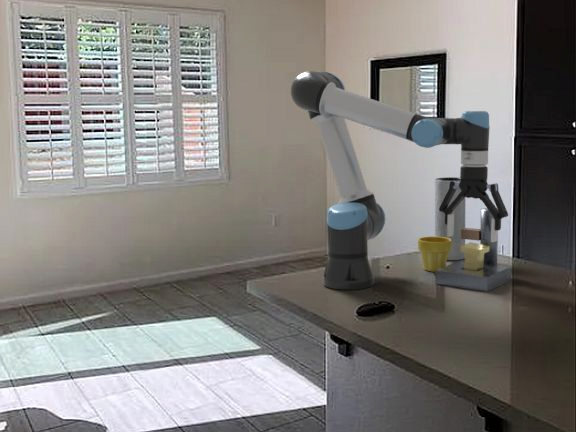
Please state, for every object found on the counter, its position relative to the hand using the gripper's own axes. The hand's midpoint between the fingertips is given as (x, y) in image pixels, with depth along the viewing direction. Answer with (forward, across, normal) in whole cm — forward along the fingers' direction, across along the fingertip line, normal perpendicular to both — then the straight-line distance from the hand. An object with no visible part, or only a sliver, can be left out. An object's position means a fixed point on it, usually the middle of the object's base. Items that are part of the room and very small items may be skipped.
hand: (471, 238), depth 196 cm
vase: (+13, -20, +26) cm, 36 cm away
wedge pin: (+12, +1, 0) cm, 13 cm away
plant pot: (+13, -16, +8) cm, 23 cm away
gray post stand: (+13, +1, +3) cm, 13 cm away
